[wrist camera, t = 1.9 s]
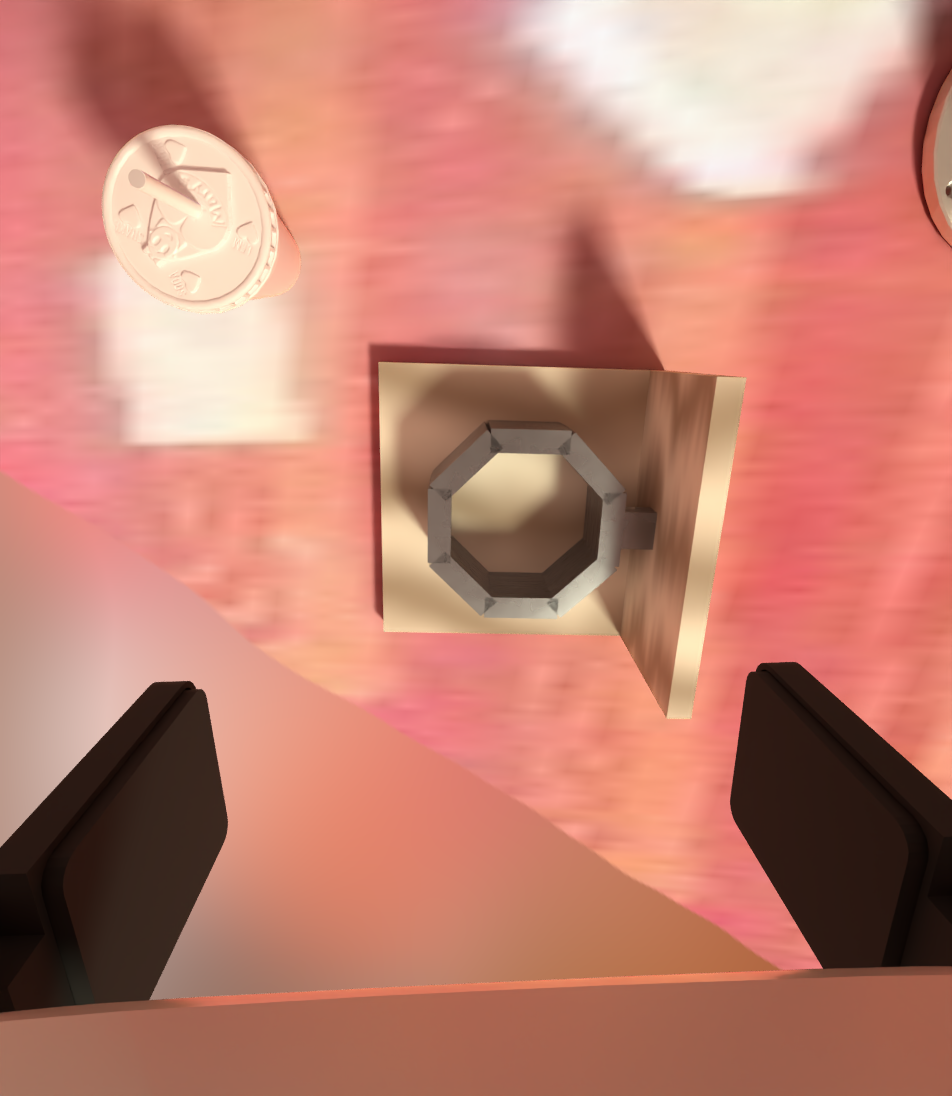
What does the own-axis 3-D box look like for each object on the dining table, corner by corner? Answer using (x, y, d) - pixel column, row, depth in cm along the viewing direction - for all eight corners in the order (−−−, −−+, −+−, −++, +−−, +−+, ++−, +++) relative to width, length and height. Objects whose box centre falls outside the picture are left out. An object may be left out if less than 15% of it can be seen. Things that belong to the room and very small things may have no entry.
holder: (381, 361, 34) (348, 365, 24) (665, 370, 34) (746, 377, 24) (385, 623, 38) (360, 714, 29) (633, 627, 39) (691, 718, 29)
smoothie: (351, 266, 32) (274, 204, 19) (268, 349, 33) (139, 346, 20) (262, 160, 30) (107, 11, 17) (178, 252, 32) (-28, 179, 18)
